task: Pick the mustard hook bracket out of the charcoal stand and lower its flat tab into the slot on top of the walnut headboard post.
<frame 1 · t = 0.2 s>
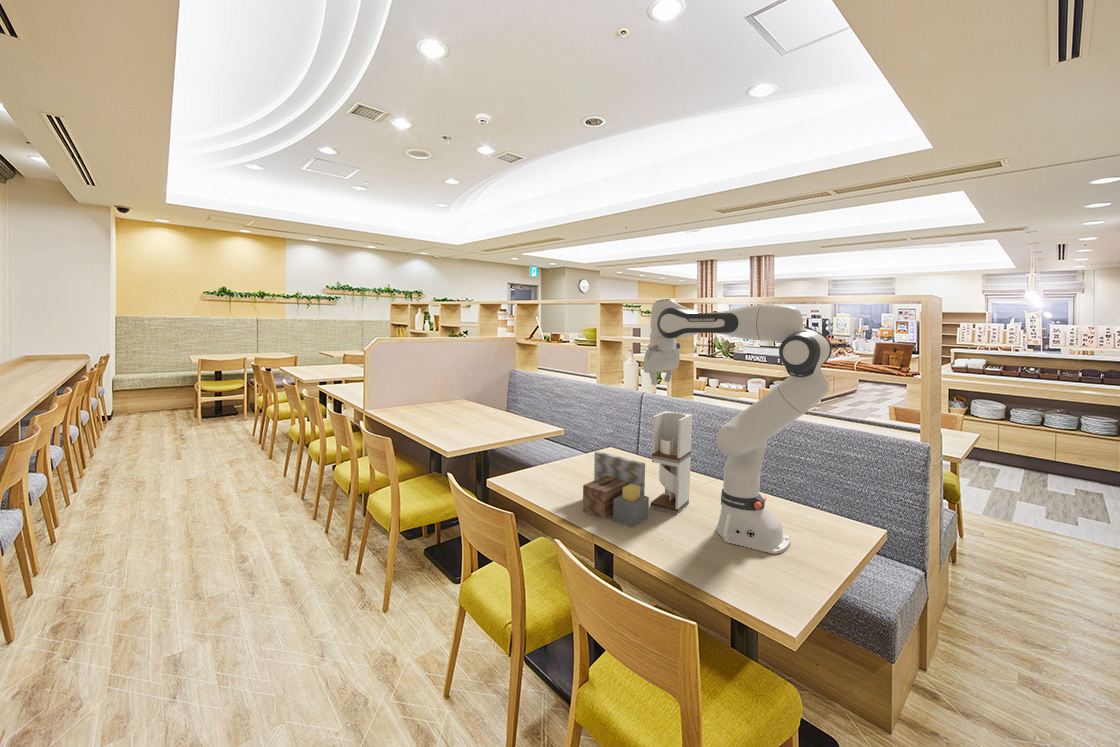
hand: (661, 383, 172), 47 cm above the table, tool pointing down, fingers open, 8 cm apart
bracket stand: (630, 519, 167), on the table
hook bracket: (631, 508, 167), point 4 cm above the table, touching bracket stand
display case: (669, 506, 179), on the table
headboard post: (605, 509, 176), on the table
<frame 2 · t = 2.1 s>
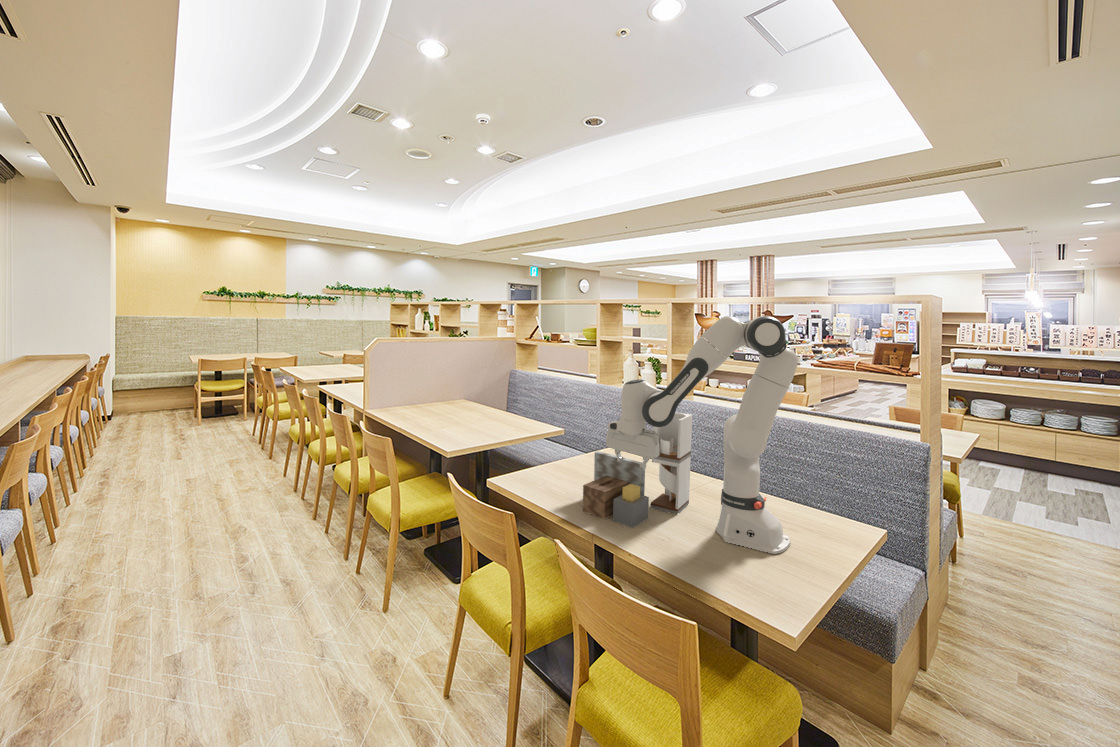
hand: (631, 465, 165), 20 cm above the table, tool pointing down, fingers open, 8 cm apart
nothing on the table moved.
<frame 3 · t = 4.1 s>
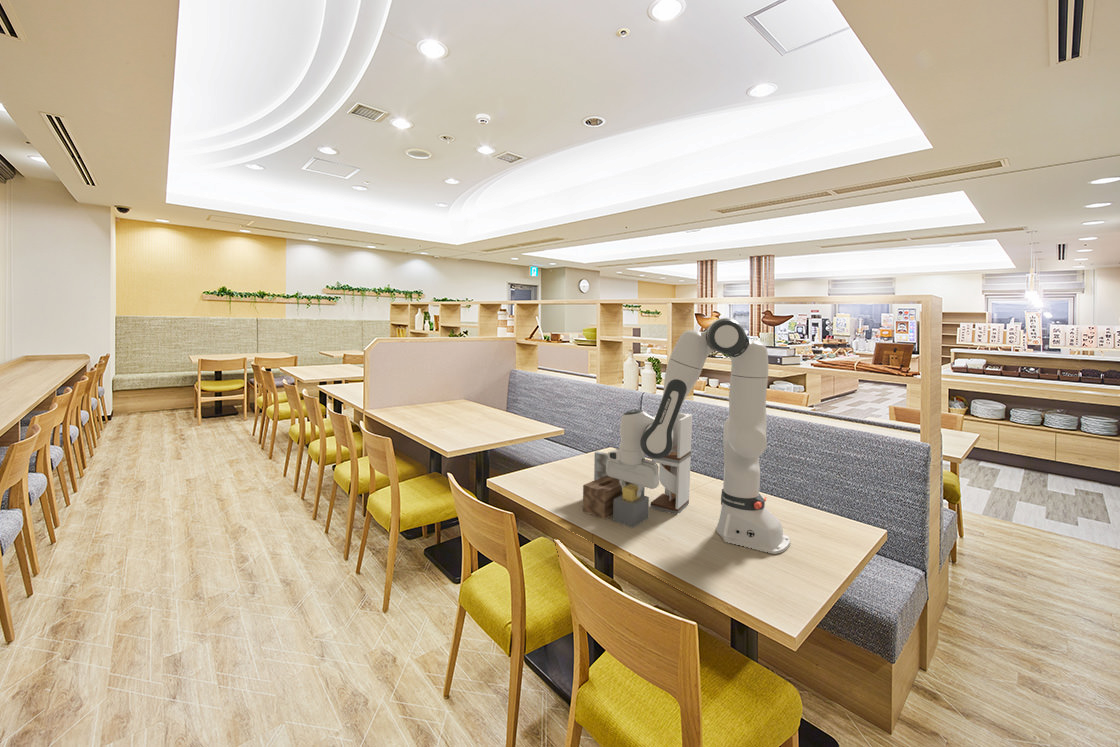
hand: (631, 494, 166), 9 cm above the table, tool pointing down, fingers closed on hook bracket, 4 cm apart
hook bracket: (631, 508, 167), point 4 cm above the table, touching bracket stand, gripper
everything else where it was.
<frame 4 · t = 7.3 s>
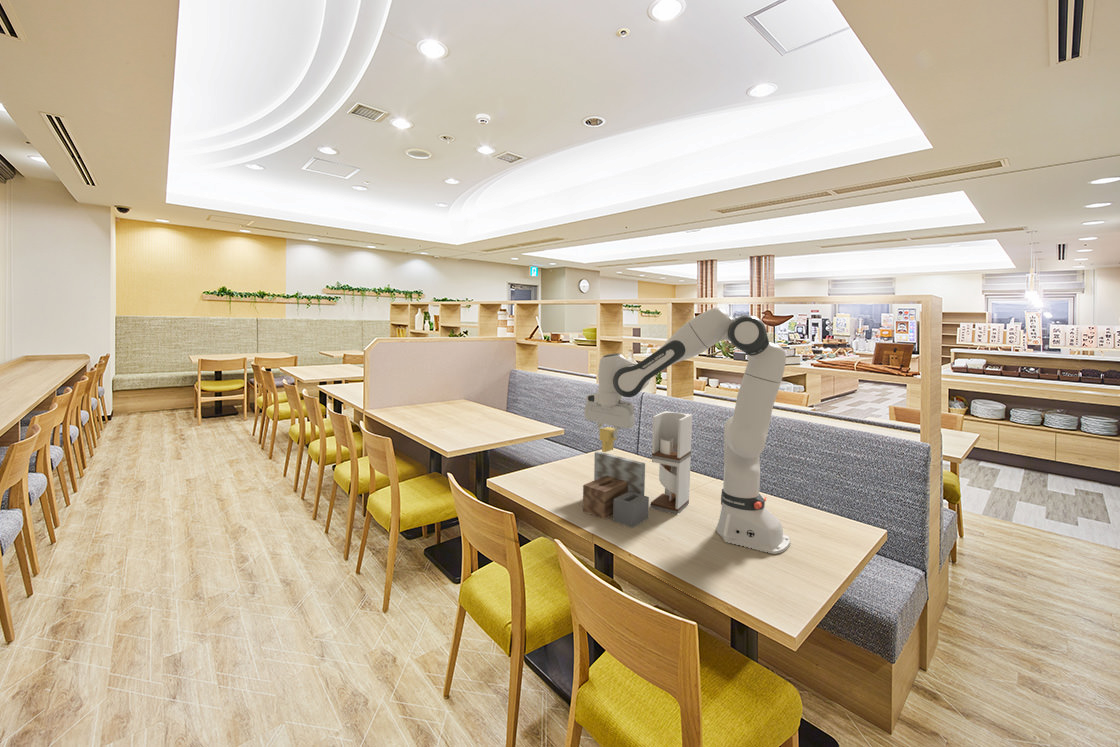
hand: (608, 436, 172), 28 cm above the table, tool pointing down, fingers closed on hook bracket, 4 cm apart
hook bracket: (607, 450, 172), point 23 cm above the table, touching gripper
everything else where it was.
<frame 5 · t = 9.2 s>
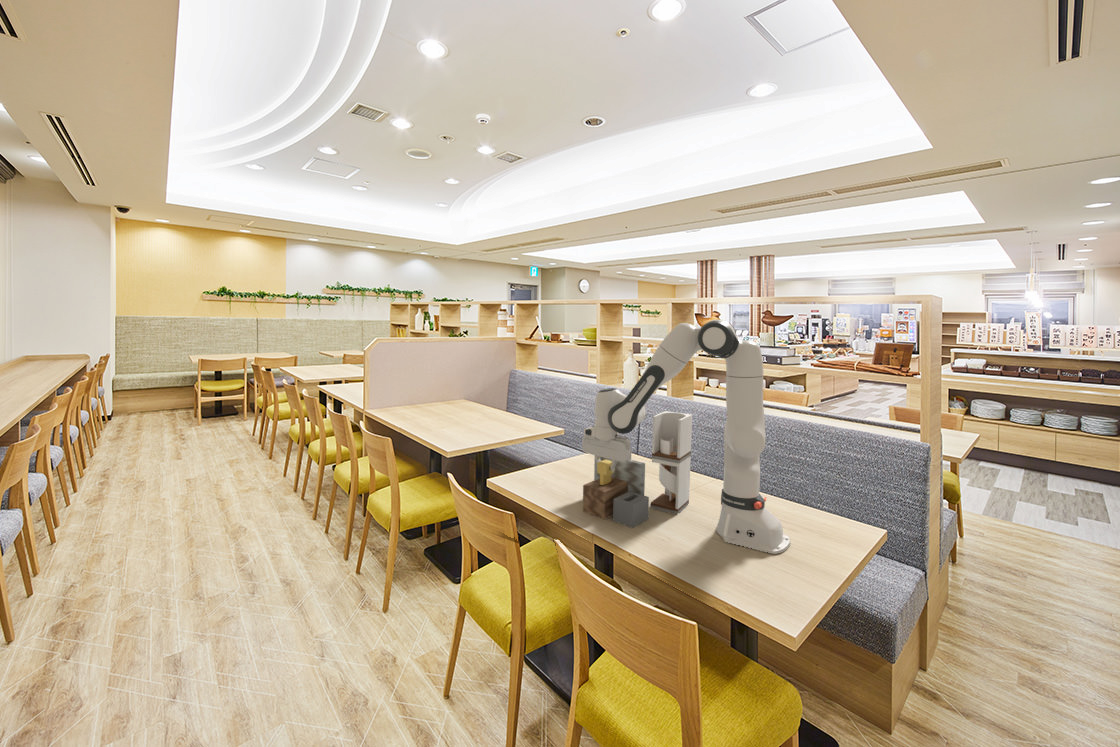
hand: (605, 469, 174), 15 cm above the table, tool pointing down, fingers closed on hook bracket, 4 cm apart
hook bracket: (605, 483, 175), point 10 cm above the table, touching gripper
everything else where it was.
when the fingers open (12 cm above the table, at t = 10.7 s): hook bracket stays where it is, resting on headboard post.
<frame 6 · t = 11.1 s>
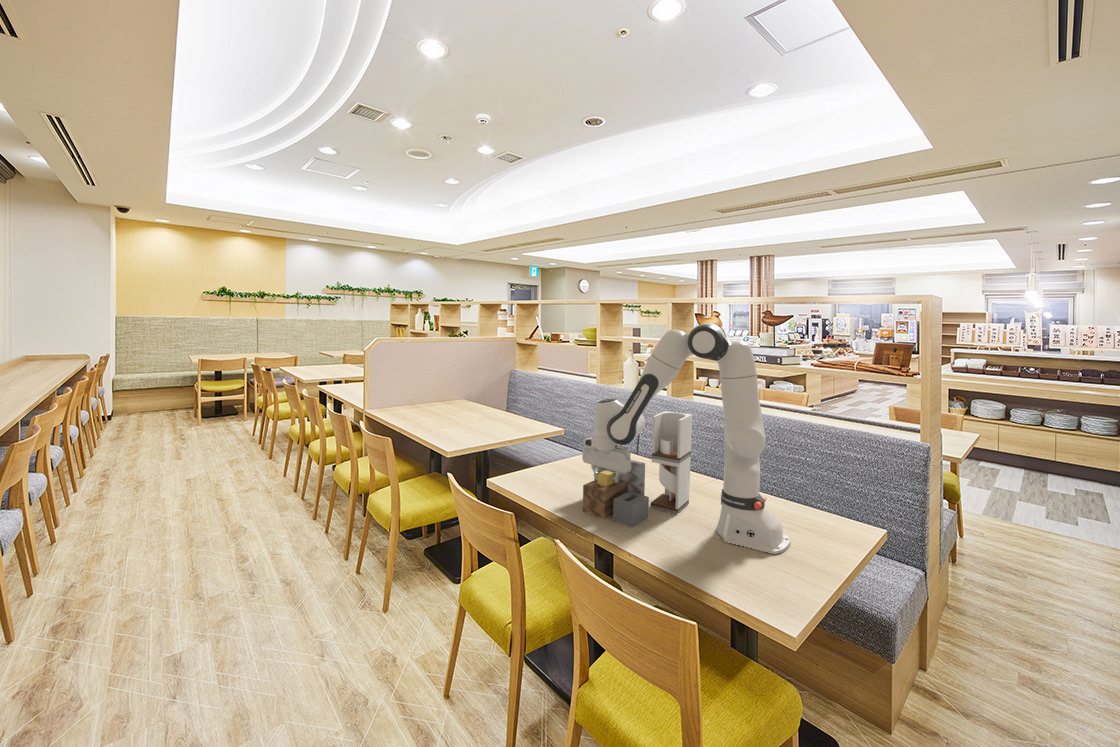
hand: (605, 479, 174), 12 cm above the table, tool pointing down, fingers open, 7 cm apart
hook bracket: (605, 493, 175), point 6 cm above the table, touching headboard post
everything else where it was.
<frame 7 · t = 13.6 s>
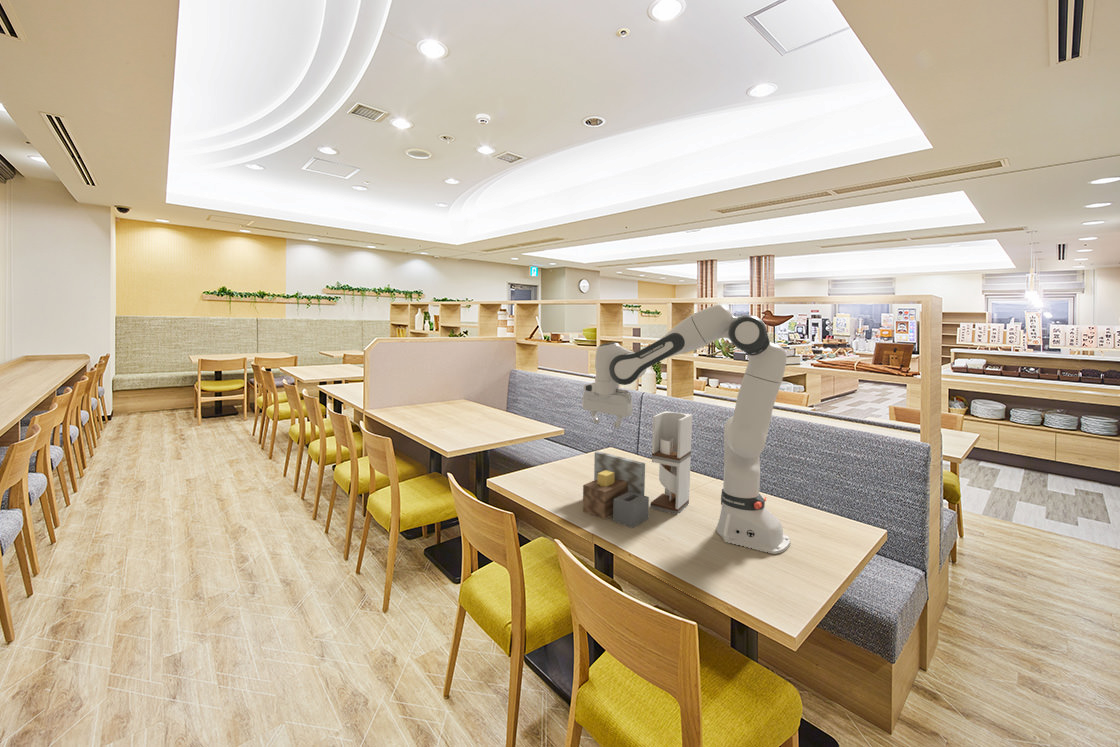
hand: (606, 425, 172), 32 cm above the table, tool pointing down, fingers open, 8 cm apart
nothing on the table moved.
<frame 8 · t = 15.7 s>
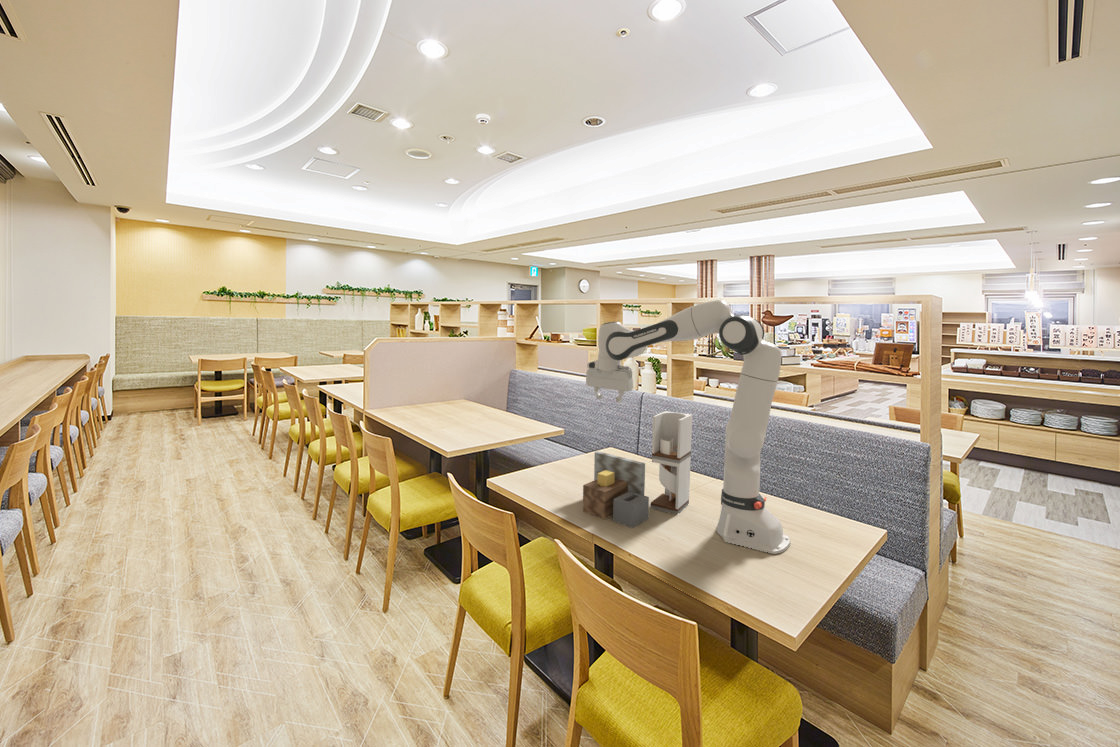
hand: (608, 400, 182), 39 cm above the table, tool pointing down, fingers open, 8 cm apart
nothing on the table moved.
at the end: hook bracket 0.1 cm off-centre on the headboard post, point 6.0 cm above the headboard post's base; hook bracket tilted 0°; the gripper is holding nothing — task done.
